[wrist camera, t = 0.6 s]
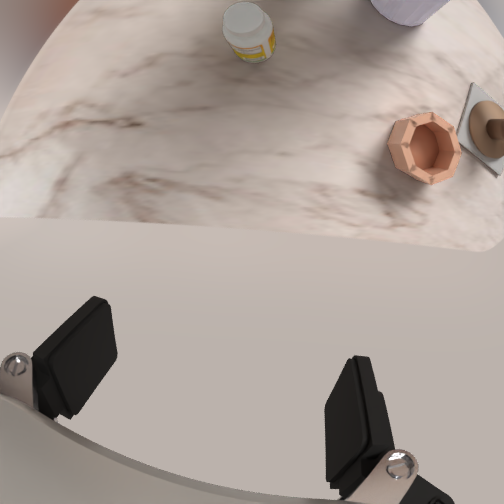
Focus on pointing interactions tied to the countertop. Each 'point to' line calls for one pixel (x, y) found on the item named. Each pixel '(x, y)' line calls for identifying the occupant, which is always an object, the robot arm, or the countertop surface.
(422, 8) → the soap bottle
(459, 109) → the countertop surface
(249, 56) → the supplement bottle
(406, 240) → the countertop surface
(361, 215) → the countertop surface
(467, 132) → the mat
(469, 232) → the countertop surface
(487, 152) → the lid
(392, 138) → the octagonal peach pot
